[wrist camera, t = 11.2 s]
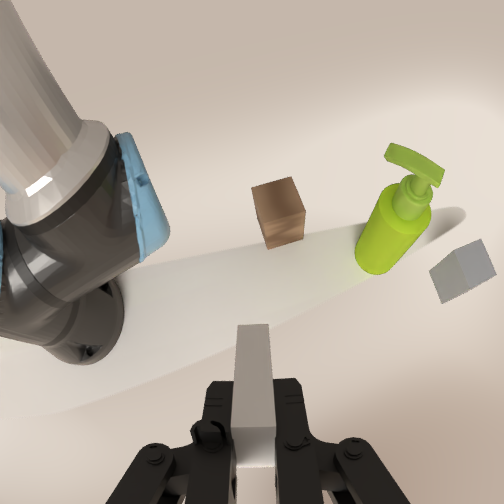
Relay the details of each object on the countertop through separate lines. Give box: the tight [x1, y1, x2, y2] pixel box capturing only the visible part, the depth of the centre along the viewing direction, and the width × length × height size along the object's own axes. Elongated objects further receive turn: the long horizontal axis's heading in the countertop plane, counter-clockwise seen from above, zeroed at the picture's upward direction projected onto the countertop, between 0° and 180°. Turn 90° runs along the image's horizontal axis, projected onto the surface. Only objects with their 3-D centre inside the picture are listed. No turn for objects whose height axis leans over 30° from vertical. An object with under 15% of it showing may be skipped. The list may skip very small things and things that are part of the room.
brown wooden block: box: [251, 177, 306, 250], centre depth 40 cm, size 5×5×8 cm
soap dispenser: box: [355, 143, 445, 275], centre depth 32 cm, size 6×7×20 cm
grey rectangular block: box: [429, 239, 496, 304], centre depth 35 cm, size 5×5×8 cm
